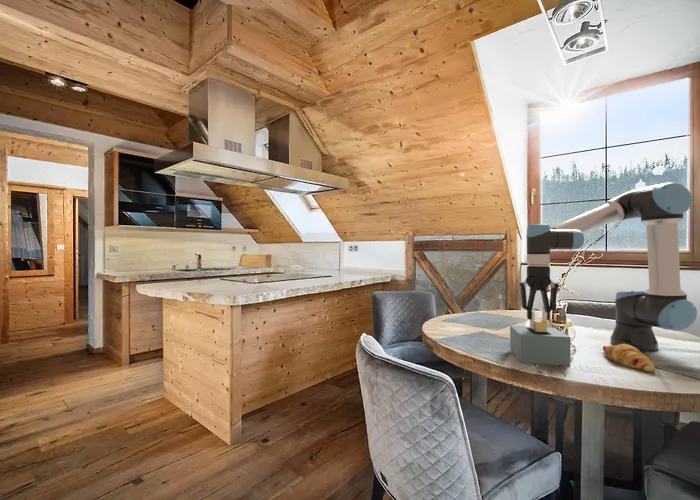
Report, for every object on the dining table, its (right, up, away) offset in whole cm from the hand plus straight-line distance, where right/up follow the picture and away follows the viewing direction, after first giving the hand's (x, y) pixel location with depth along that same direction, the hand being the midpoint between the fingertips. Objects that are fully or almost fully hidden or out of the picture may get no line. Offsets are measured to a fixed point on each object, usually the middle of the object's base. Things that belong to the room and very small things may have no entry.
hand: (538, 328), depth 125 cm
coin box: (0, -11, 0) cm, 11 cm away
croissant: (+28, -11, -6) cm, 31 cm away
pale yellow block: (0, -1, 0) cm, 1 cm away
